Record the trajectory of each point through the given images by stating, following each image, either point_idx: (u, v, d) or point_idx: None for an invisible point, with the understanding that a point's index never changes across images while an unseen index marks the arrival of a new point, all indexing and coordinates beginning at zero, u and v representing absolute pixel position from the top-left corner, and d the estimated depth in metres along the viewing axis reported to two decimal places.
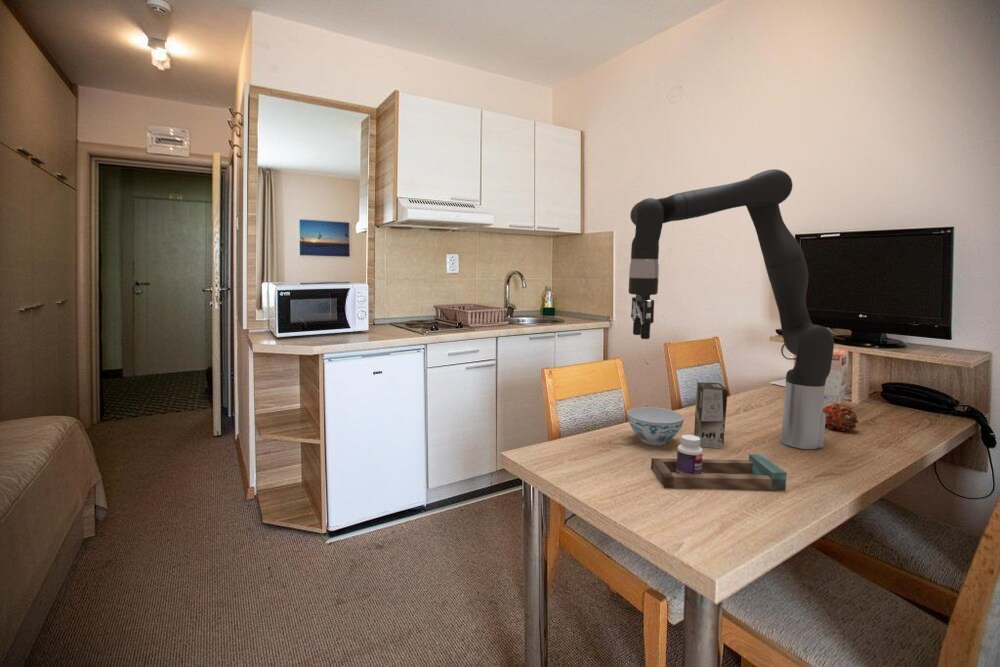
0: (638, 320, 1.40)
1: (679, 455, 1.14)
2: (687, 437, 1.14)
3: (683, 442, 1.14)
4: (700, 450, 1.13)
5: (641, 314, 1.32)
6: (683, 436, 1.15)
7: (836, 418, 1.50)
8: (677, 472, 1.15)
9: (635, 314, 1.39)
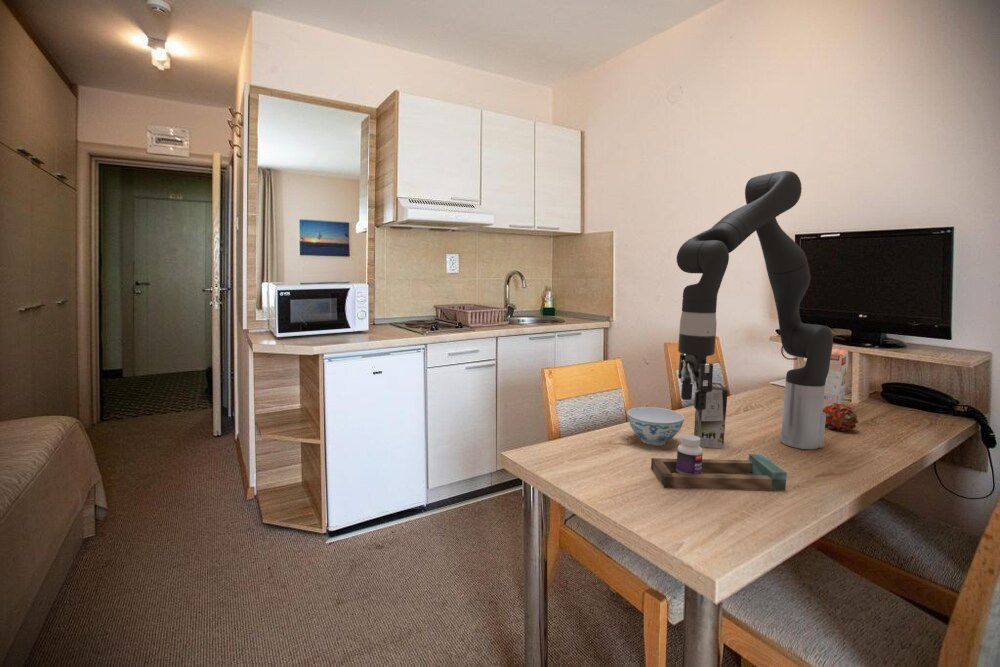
0: (688, 382, 1.17)
1: (679, 455, 1.14)
2: (687, 437, 1.14)
3: (683, 442, 1.14)
4: (700, 450, 1.13)
5: (695, 379, 1.09)
6: (683, 436, 1.15)
7: (836, 418, 1.50)
8: (677, 472, 1.15)
9: (685, 376, 1.16)
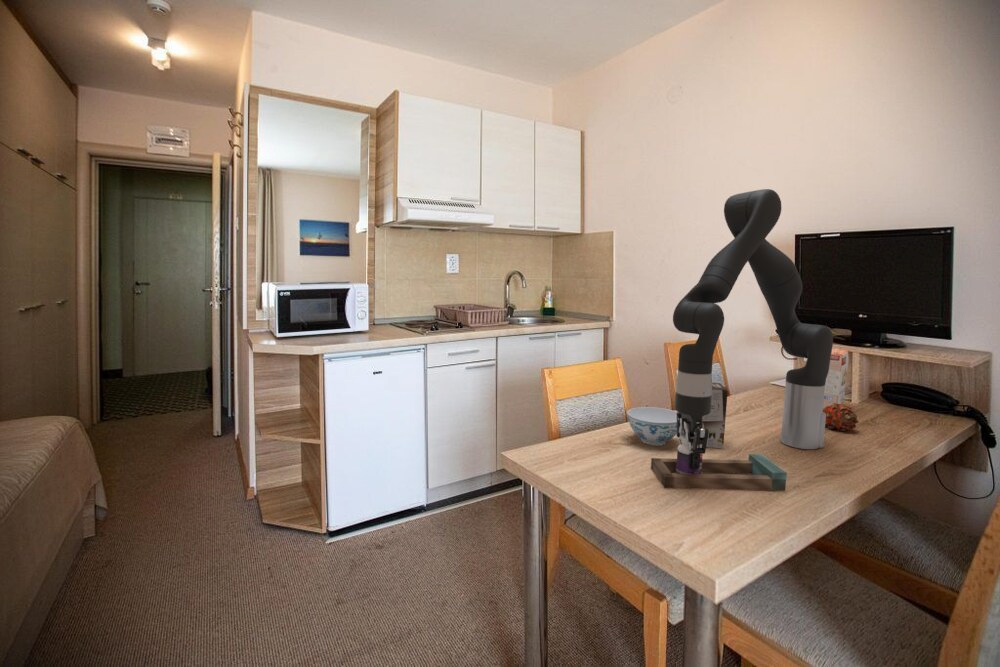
0: None
1: (679, 455, 1.14)
2: None
3: (683, 442, 1.14)
4: None
5: (690, 440, 1.11)
6: (683, 436, 1.15)
7: (836, 418, 1.50)
8: (677, 472, 1.15)
9: (683, 434, 1.16)
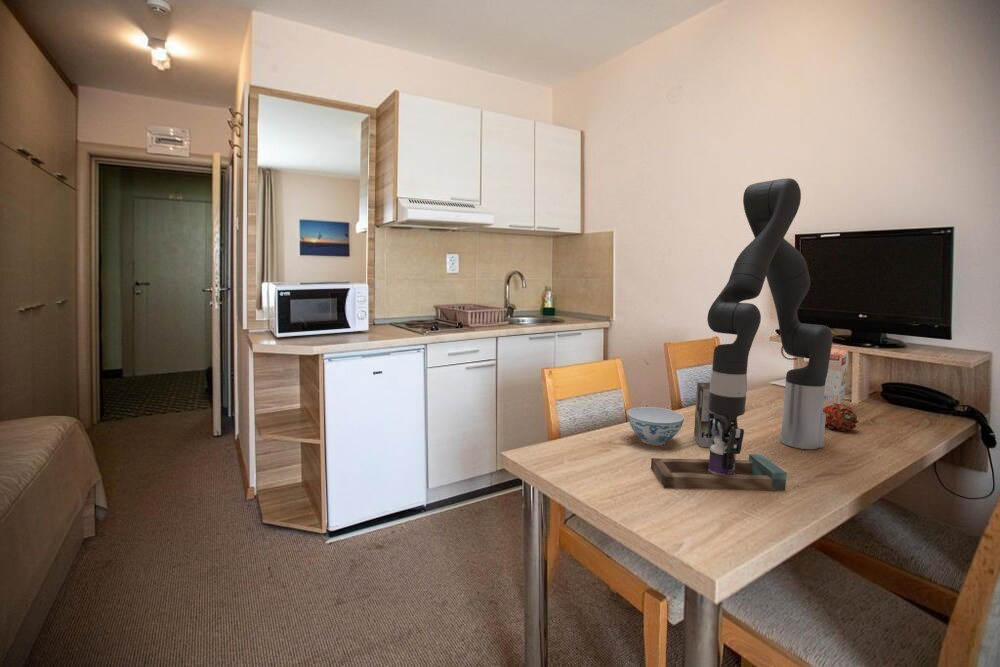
0: None
1: (712, 455, 1.14)
2: None
3: (716, 442, 1.14)
4: None
5: (724, 441, 1.11)
6: (716, 437, 1.14)
7: (836, 418, 1.50)
8: (709, 472, 1.15)
9: (715, 434, 1.16)
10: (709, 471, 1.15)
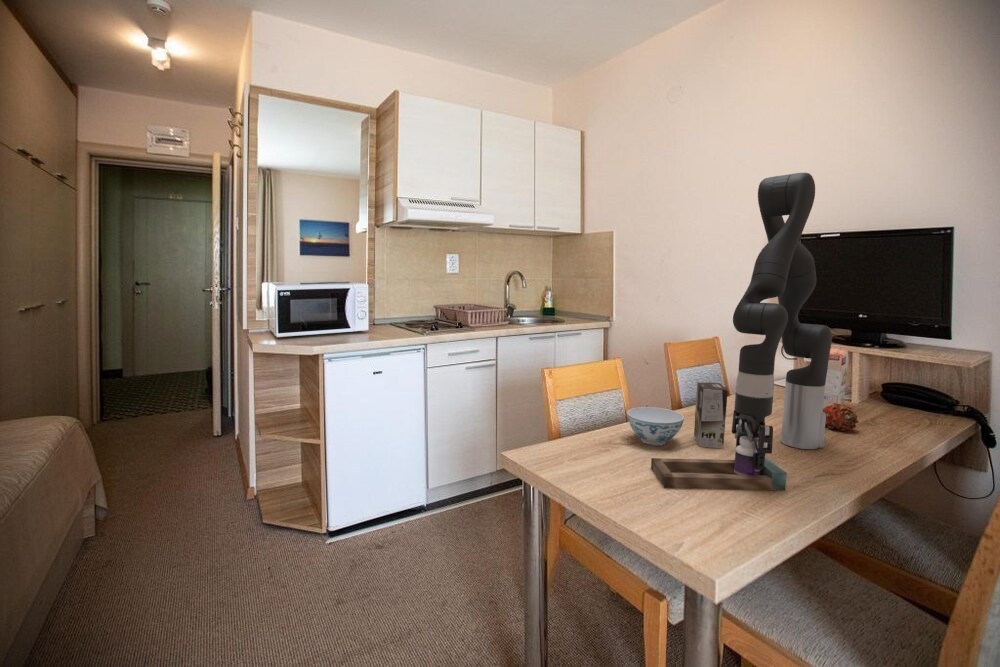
0: None
1: (738, 456, 1.14)
2: (746, 438, 1.14)
3: (742, 443, 1.13)
4: None
5: (754, 440, 1.10)
6: (741, 438, 1.14)
7: (836, 418, 1.50)
8: (735, 473, 1.15)
9: (740, 432, 1.17)
10: (735, 472, 1.15)
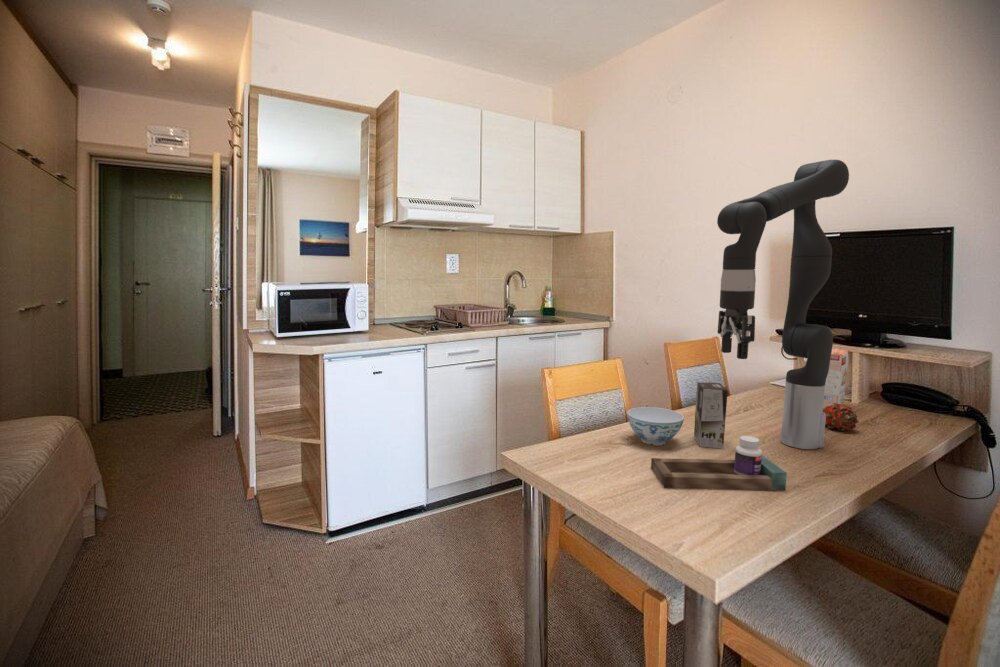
0: (727, 336, 1.26)
1: (738, 456, 1.14)
2: (746, 438, 1.14)
3: (742, 443, 1.13)
4: (760, 451, 1.12)
5: (738, 331, 1.18)
6: (741, 438, 1.14)
7: (836, 418, 1.50)
8: (735, 473, 1.15)
9: (725, 330, 1.25)
10: (735, 472, 1.15)
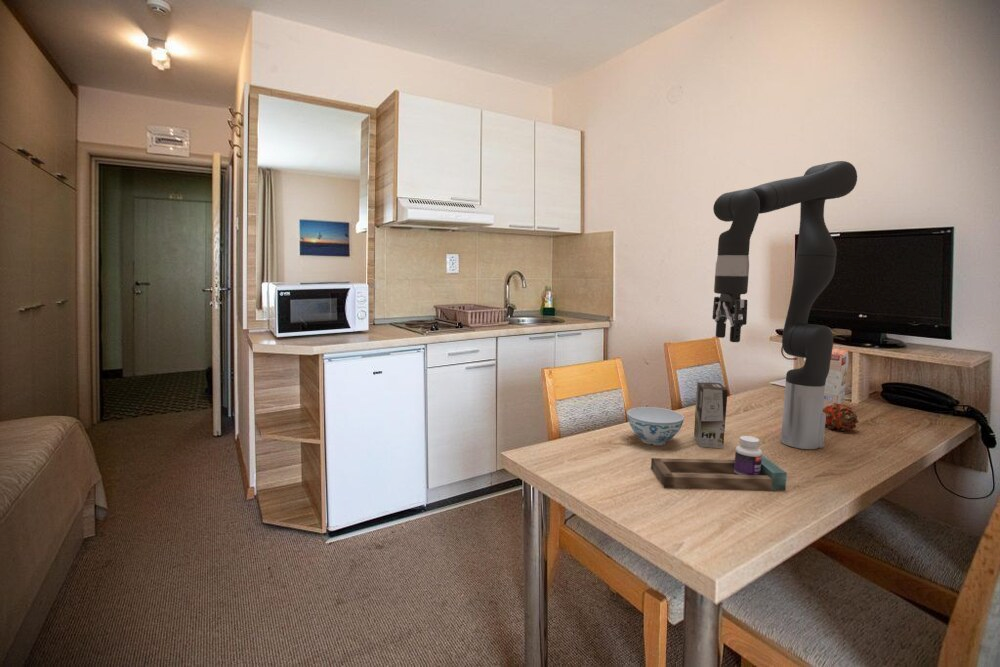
0: (722, 321, 1.30)
1: (738, 456, 1.14)
2: (746, 438, 1.14)
3: (742, 443, 1.13)
4: (760, 451, 1.12)
5: (731, 315, 1.22)
6: (741, 438, 1.14)
7: (836, 418, 1.50)
8: (735, 473, 1.15)
9: (719, 315, 1.28)
10: (735, 472, 1.15)
